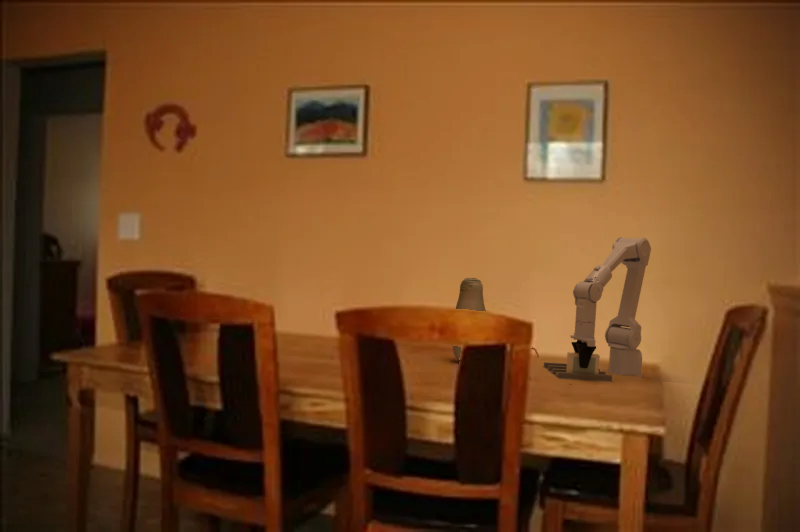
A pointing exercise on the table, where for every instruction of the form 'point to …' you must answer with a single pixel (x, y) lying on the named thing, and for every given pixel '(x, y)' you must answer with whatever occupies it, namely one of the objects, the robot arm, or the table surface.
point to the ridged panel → (561, 373)
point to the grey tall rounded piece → (469, 301)
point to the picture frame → (575, 367)
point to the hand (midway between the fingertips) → (582, 367)
